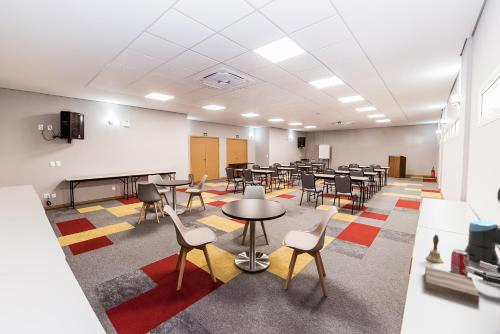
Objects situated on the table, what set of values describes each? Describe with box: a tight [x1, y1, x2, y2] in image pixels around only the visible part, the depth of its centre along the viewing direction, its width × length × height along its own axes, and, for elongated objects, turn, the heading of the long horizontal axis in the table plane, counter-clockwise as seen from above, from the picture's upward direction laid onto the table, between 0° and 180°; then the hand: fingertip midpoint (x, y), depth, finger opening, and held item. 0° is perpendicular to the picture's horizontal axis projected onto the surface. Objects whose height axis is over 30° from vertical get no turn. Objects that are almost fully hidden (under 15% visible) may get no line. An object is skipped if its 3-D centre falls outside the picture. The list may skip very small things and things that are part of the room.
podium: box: [424, 266, 480, 306], centre depth 109 cm, size 18×18×4 cm
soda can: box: [450, 249, 470, 276], centre depth 122 cm, size 7×7×12 cm
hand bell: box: [425, 234, 444, 264], centre depth 137 cm, size 8×8×16 cm
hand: (473, 266), depth 116 cm, fingers open, 13 cm apart
